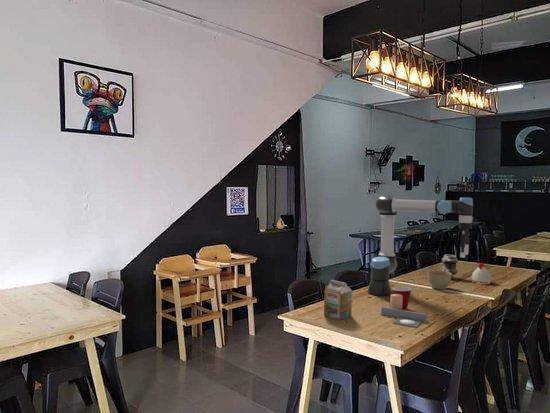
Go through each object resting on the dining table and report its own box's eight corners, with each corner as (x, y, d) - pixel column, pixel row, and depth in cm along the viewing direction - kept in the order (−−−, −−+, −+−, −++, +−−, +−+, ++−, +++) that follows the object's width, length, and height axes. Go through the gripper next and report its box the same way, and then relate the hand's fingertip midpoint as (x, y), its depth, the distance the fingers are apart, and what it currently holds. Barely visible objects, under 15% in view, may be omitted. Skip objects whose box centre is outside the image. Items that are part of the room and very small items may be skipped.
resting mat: (392, 323, 221) (392, 322, 221) (398, 317, 230) (398, 317, 230) (416, 327, 214) (416, 326, 214) (421, 322, 224) (421, 321, 224)
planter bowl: (451, 286, 304) (452, 271, 304) (450, 291, 290) (451, 276, 289) (427, 284, 311) (428, 269, 311) (425, 289, 296) (426, 273, 296)
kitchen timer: (467, 282, 321) (468, 262, 320) (475, 279, 330) (476, 260, 330) (486, 285, 311) (487, 265, 310) (494, 282, 320) (495, 263, 319)
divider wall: (380, 314, 235) (380, 307, 235) (382, 313, 238) (382, 306, 238) (426, 322, 222) (426, 315, 222) (427, 321, 225) (427, 313, 225)
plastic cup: (397, 304, 256) (398, 284, 256) (414, 308, 249) (415, 288, 248) (388, 308, 249) (388, 287, 248) (405, 312, 241) (406, 291, 240)
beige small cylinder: (388, 313, 238) (389, 295, 238) (392, 310, 244) (392, 293, 243) (400, 315, 235) (400, 297, 234) (403, 312, 240) (404, 294, 240)
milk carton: (323, 315, 232) (324, 281, 231) (335, 311, 240) (336, 278, 239) (339, 320, 225) (340, 284, 224) (351, 316, 232) (352, 281, 231)
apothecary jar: (459, 280, 327) (460, 256, 326) (442, 279, 328) (443, 256, 328) (455, 276, 338) (455, 254, 338) (439, 276, 340) (439, 253, 339)
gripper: (469, 224, 253) (467, 259, 255) (474, 221, 275) (473, 254, 276) (455, 223, 257) (454, 258, 259) (462, 220, 279) (460, 252, 280)
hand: (464, 256), depth 267 cm, fingers open, 13 cm apart
